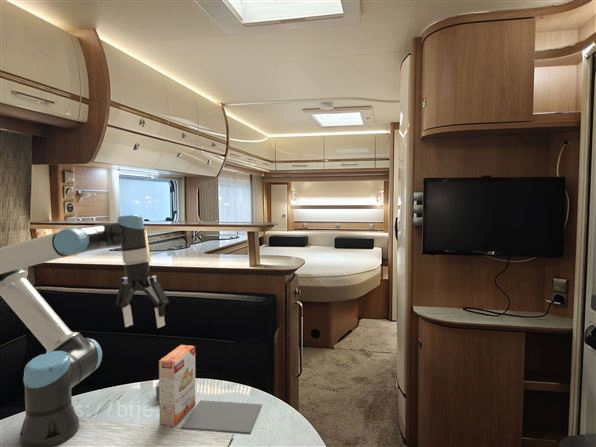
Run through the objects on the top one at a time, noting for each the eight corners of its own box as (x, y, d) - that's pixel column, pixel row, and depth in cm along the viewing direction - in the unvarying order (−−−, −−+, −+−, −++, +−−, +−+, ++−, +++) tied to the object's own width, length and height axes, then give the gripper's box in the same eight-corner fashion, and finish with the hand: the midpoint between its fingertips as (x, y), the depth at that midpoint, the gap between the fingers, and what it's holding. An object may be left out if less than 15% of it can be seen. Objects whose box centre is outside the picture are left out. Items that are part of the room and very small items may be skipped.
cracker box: (176, 427, 120) (175, 362, 118) (158, 425, 121) (157, 360, 120) (197, 404, 133) (196, 345, 132) (181, 402, 135) (179, 343, 133)
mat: (180, 428, 119) (180, 427, 119) (200, 401, 135) (200, 400, 135) (250, 433, 117) (250, 432, 117) (261, 405, 132) (261, 404, 132)
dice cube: (156, 400, 136) (156, 386, 136) (159, 393, 141) (159, 380, 141) (171, 399, 137) (170, 385, 136) (173, 392, 142) (173, 379, 141)
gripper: (174, 258, 124) (183, 322, 125) (116, 261, 133) (125, 321, 134) (158, 262, 117) (167, 330, 118) (98, 266, 126) (107, 329, 128)
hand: (144, 326), depth 126 cm, fingers open, 13 cm apart
